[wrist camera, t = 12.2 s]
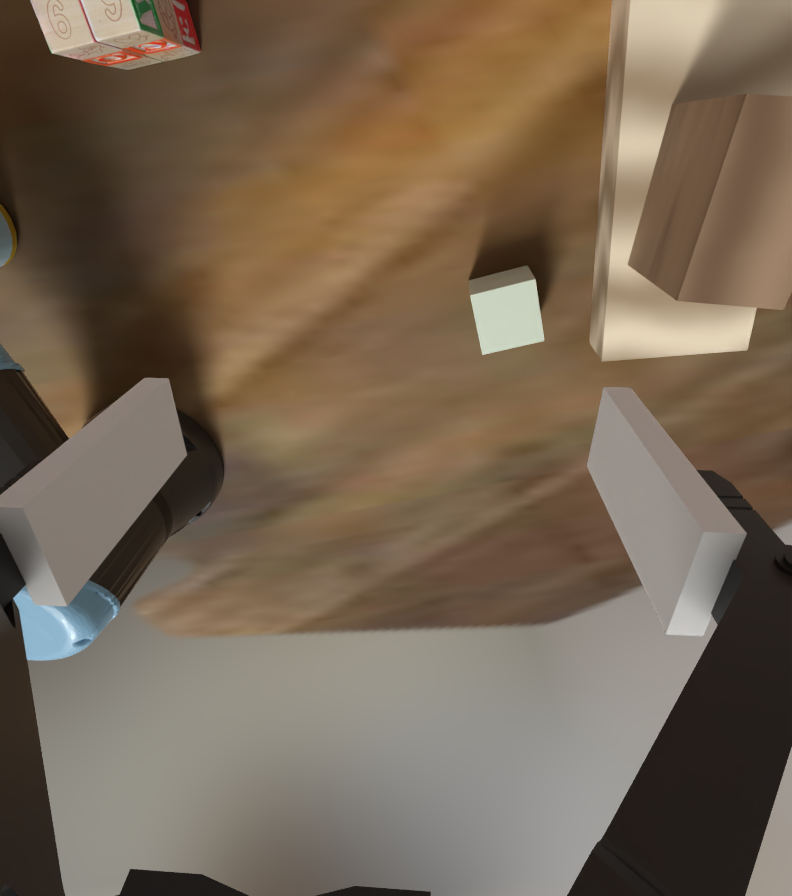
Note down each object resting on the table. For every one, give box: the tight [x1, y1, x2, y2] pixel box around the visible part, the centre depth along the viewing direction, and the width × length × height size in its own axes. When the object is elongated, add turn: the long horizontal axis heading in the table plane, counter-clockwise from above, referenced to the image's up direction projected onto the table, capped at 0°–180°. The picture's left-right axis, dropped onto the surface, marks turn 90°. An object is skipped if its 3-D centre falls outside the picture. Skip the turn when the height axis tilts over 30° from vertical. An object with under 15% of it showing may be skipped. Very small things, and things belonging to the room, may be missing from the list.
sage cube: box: [468, 265, 544, 355], centre depth 44 cm, size 5×5×5 cm
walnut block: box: [628, 94, 792, 310], centre depth 32 cm, size 6×10×10 cm, turn 177°
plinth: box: [590, 0, 792, 361], centre depth 38 cm, size 24×11×5 cm, turn 7°
